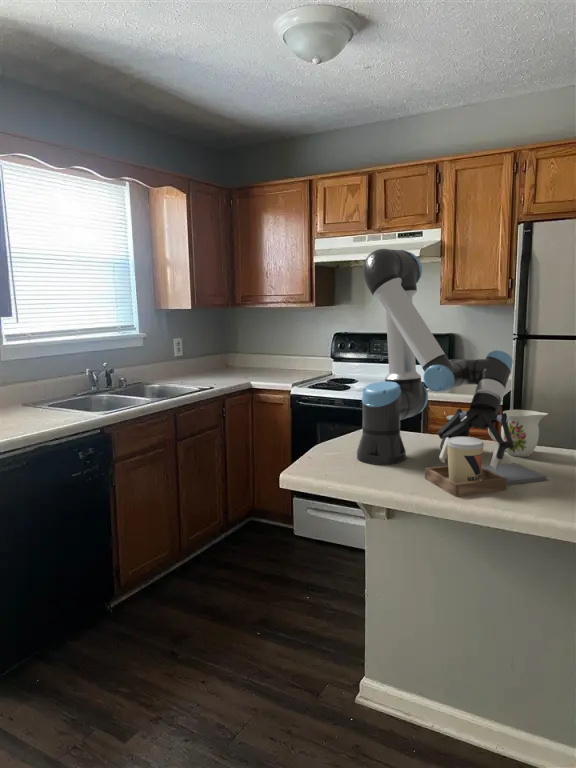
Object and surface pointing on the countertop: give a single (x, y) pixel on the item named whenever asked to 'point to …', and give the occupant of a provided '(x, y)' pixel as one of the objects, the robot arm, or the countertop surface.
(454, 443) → the coffee cup
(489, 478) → the cup holder
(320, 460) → the countertop surface
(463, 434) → the dixie cup
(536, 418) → the pitcher
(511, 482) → the rubber mat
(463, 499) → the countertop surface
